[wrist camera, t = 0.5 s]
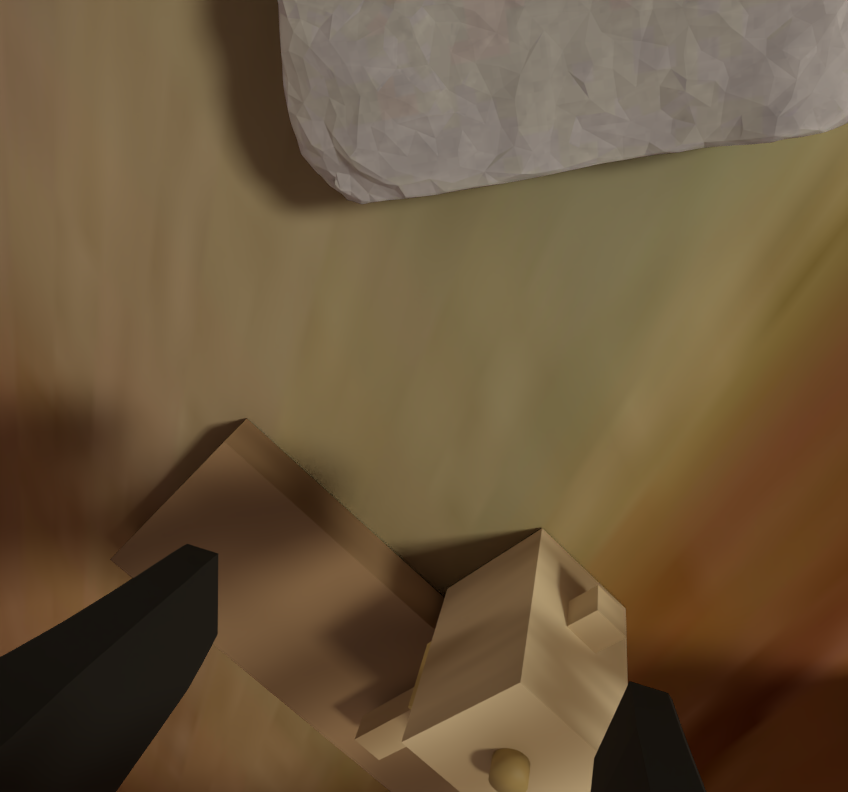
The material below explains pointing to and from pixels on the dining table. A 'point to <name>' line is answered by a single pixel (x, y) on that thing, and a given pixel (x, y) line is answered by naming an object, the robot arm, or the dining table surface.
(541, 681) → the block
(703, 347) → the dining table surface
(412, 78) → the stone block
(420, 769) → the board
